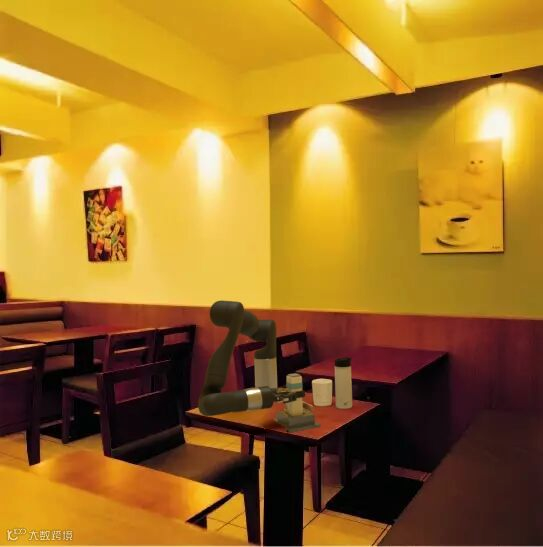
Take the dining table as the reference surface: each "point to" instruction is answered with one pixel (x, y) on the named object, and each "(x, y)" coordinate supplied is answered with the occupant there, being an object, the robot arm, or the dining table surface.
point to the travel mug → (343, 383)
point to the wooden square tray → (304, 407)
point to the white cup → (322, 392)
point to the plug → (292, 386)
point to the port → (296, 421)
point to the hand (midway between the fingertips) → (301, 392)
